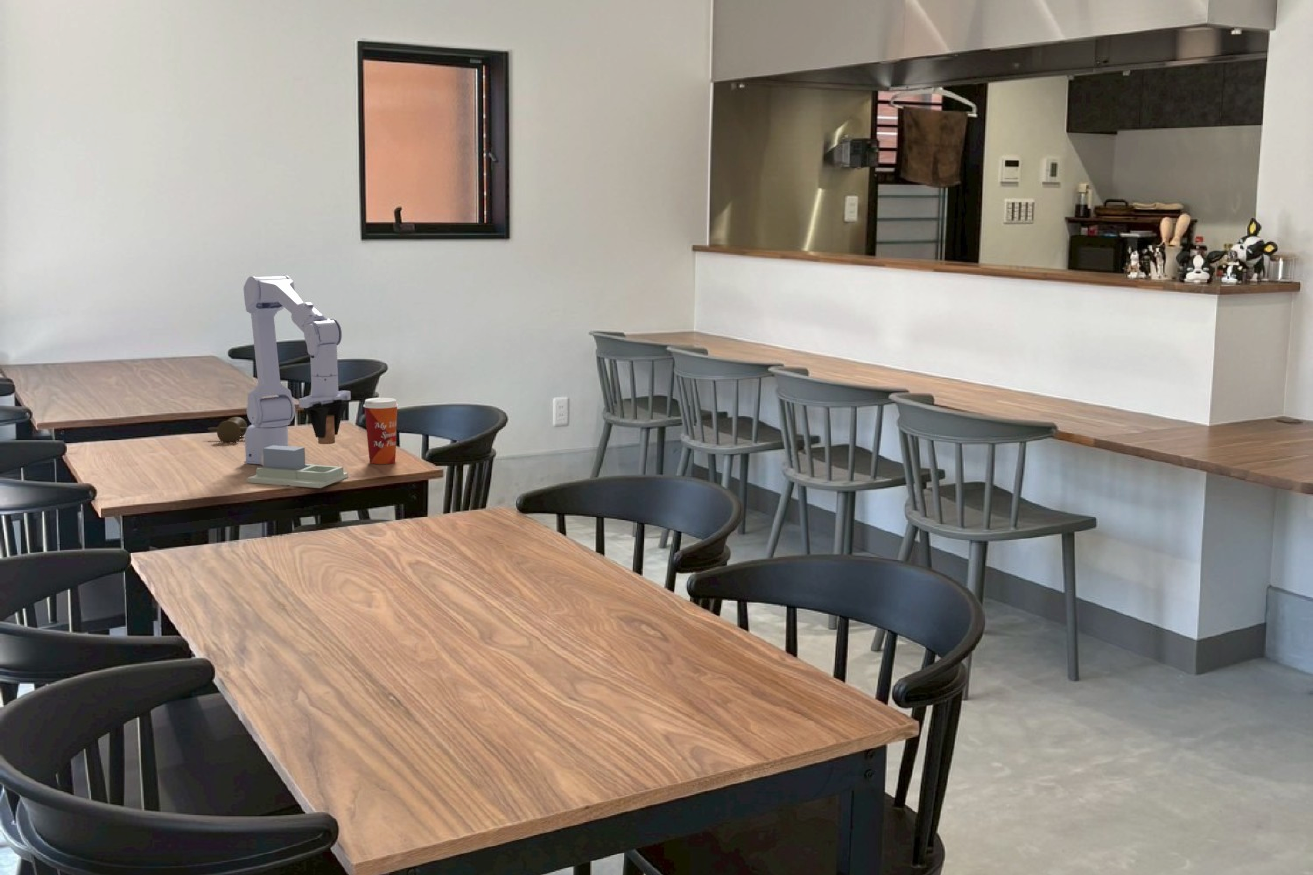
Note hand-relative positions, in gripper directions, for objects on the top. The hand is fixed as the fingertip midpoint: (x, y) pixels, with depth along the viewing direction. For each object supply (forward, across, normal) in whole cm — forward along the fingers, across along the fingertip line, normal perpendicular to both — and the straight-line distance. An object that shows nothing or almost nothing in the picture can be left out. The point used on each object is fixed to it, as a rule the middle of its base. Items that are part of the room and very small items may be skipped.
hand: (326, 435), depth 284 cm
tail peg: (+2, 0, 0) cm, 2 cm away
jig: (+10, -3, +6) cm, 12 cm away
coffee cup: (+10, +22, +2) cm, 24 cm away
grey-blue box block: (+9, -4, +9) cm, 13 cm away
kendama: (+10, +27, +51) cm, 59 cm away
